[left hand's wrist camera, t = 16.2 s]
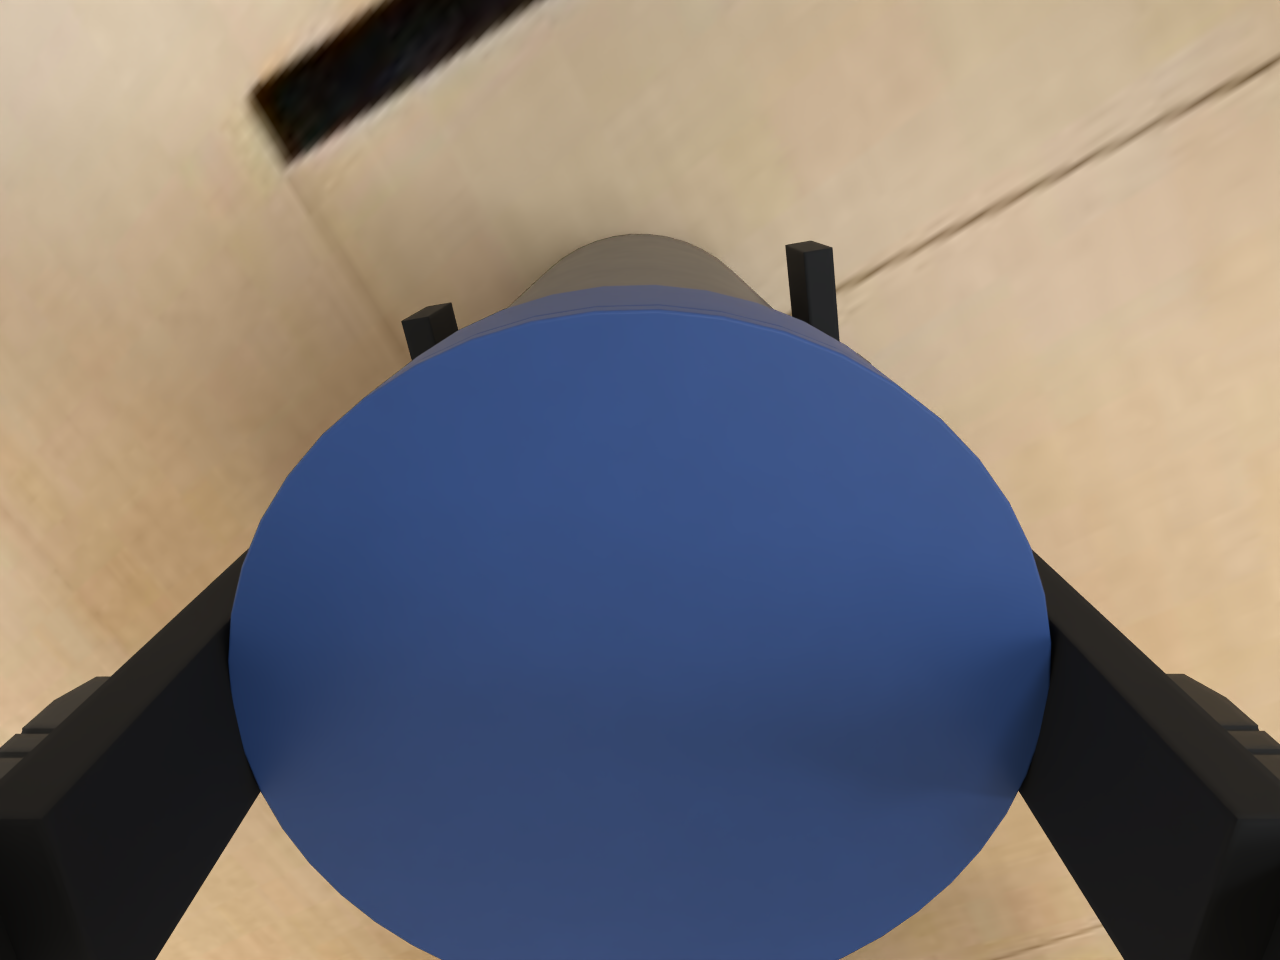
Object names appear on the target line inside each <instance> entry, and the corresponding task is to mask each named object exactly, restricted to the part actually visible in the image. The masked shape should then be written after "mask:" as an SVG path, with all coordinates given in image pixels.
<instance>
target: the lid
mask: <svg viewBox="0 0 1280 960" xmlns="http://www.w3.org/2000/svg"><path fill="white" fill-rule="evenodd" d="M1050 661H1051V638H1050V630H1049V622H1048V615H1047V607H1046V599H1045V593H1044V590H1043V586H1042V583H1041V580H1040V576H1039V573H1038V569H1037V566H1036V563H1035V559H1034V556H1033V553H1032V549H1031V547H1030V545H1029V542H1028V540H1027V538H1026V536H1025V534H1024V532H1023V530H1022V528H1021V526H1020V524H1019V522H1018V520H1017V518H1016V515H1015V513H1014V511H1013V509H1012V507H1011V505H1010V503H1009V501H1008V500H1007V498H1006V497H1005V496H1004V494H1003V493H1002V491H1001V490H1000V488H999V487H998V485H997V484H996V483H995V481H994V480H993V478H992V477H991V475H990V474H989V472H988V471H987V470H986V468H985V467H984V465H983V464H982V462H981V461H980V460H979V458H978V457H977V456H976V455H975V454H974V453H973V452H972V451H971V450H970V449H969V448H968V447H967V446H966V445H965V444H964V443H963V441H962V440H961V439H960V438H959V437H958V436H957V435H956V434H955V433H954V432H953V431H952V430H951V429H950V428H949V427H948V426H947V425H946V424H945V423H944V421H943V420H942V419H941V418H939V417H938V416H937V415H935V414H934V413H933V412H932V411H930V410H929V409H928V408H926V407H925V406H924V405H923V404H921V403H920V402H919V401H917V400H916V399H915V398H914V397H912V396H911V395H910V394H908V393H907V392H906V391H905V390H903V389H902V388H901V387H899V386H898V385H897V384H896V383H894V382H893V381H892V380H890V379H889V378H888V377H886V376H885V375H884V374H883V373H881V372H880V371H879V370H877V369H876V368H875V367H874V366H872V365H871V364H870V363H868V362H867V361H866V360H865V359H863V358H862V357H861V356H859V355H858V354H857V353H855V352H854V351H853V350H852V349H850V348H849V347H848V346H846V345H844V344H843V343H841V342H839V341H837V340H836V339H834V338H832V337H830V336H829V335H827V334H825V333H823V332H822V331H820V330H818V329H816V328H815V327H813V326H811V325H809V324H808V323H806V322H804V321H802V320H799V319H797V318H794V317H792V316H789V315H787V314H784V313H782V312H779V311H776V310H774V309H771V308H769V307H766V306H764V305H761V304H759V303H756V302H752V301H748V300H744V299H740V298H736V297H732V296H728V295H724V294H720V293H715V292H711V291H707V290H698V289H689V288H680V287H670V286H661V285H633V286H602V287H596V288H590V289H584V290H577V291H571V292H565V293H559V294H553V295H549V296H546V297H543V298H539V299H536V300H533V301H530V302H526V303H523V304H520V305H516V306H513V307H510V308H507V309H503V310H501V311H499V312H497V313H495V314H493V315H490V316H488V317H486V318H484V319H482V320H480V321H477V322H475V323H473V324H471V325H469V326H467V327H464V328H462V329H460V330H458V331H456V332H455V333H453V334H452V335H450V336H449V337H447V338H446V339H444V340H442V341H441V342H439V343H438V344H436V345H435V346H433V347H432V348H430V349H429V350H427V351H425V352H424V353H422V354H421V355H419V356H418V357H416V358H415V359H414V360H412V361H411V362H410V363H408V364H407V365H406V366H405V367H403V368H402V369H401V370H399V371H398V372H397V373H396V374H394V375H393V376H392V377H390V378H389V379H388V380H386V381H385V382H384V383H383V384H381V385H380V386H379V387H377V388H376V389H375V390H374V391H372V392H371V393H370V394H368V395H367V396H366V397H364V398H363V399H362V400H361V401H360V402H359V403H358V404H356V405H355V406H354V407H353V408H352V409H351V410H350V411H348V412H347V413H346V414H345V415H344V416H343V417H342V418H340V419H339V420H338V421H337V422H336V423H335V424H334V425H332V426H331V427H330V428H329V429H328V430H327V431H326V432H324V433H323V434H322V435H321V437H320V438H319V439H318V440H317V441H316V443H315V444H314V445H313V446H312V447H311V449H310V450H309V451H308V452H307V453H306V454H305V456H304V457H303V458H302V459H301V460H300V462H299V463H298V464H297V465H296V466H295V467H294V469H293V470H292V471H291V472H290V473H289V475H288V476H287V477H286V479H285V481H284V482H283V484H282V486H281V487H280V489H279V491H278V492H277V494H276V496H275V497H274V499H273V501H272V502H271V504H270V506H269V507H268V509H267V510H266V512H265V514H264V515H263V517H262V519H261V521H260V523H259V525H258V528H257V530H256V533H255V535H254V538H253V540H252V543H251V545H250V548H249V550H248V553H247V555H246V557H245V560H244V562H243V565H242V568H241V573H240V577H239V581H238V586H237V590H236V594H235V599H234V603H233V608H232V612H231V623H230V639H229V655H228V665H229V676H230V687H231V693H232V699H233V704H234V709H235V713H236V718H237V722H238V726H239V731H240V735H241V740H242V744H243V748H244V752H245V755H246V758H247V760H248V762H249V765H250V767H251V770H252V772H253V774H254V777H255V779H256V782H257V784H258V787H259V789H260V791H261V793H262V795H263V796H264V798H265V800H266V801H267V803H268V805H269V806H270V808H271V810H272V812H273V813H274V815H275V817H276V818H277V820H278V822H279V823H280V825H281V827H282V829H283V830H284V831H285V832H286V834H287V835H288V836H289V838H290V839H291V840H292V841H293V843H294V844H295V845H296V847H297V848H298V849H299V850H300V852H301V853H302V854H303V856H304V857H305V858H306V859H307V861H308V862H309V863H310V864H311V865H312V866H313V867H314V868H315V869H316V870H317V871H318V872H319V873H320V874H321V875H322V876H323V877H324V878H325V879H326V880H327V881H328V882H329V883H330V884H331V885H332V886H333V887H334V888H335V889H336V890H337V891H338V892H339V893H340V894H341V895H342V896H343V897H344V898H346V899H347V900H348V901H350V902H351V903H352V904H353V905H355V906H356V907H357V908H358V909H360V910H361V911H362V912H363V913H365V914H366V915H367V916H368V917H370V918H371V919H372V920H374V921H375V922H376V923H378V924H379V925H381V926H383V927H384V928H386V929H387V930H389V931H391V932H392V933H394V934H395V935H397V936H399V937H400V938H402V939H403V940H405V941H407V942H408V943H410V944H411V945H413V946H415V947H417V948H419V949H421V950H423V951H425V952H427V953H429V954H431V955H433V956H435V957H437V958H439V959H441V960H838V959H841V958H843V957H845V956H847V955H849V954H850V953H852V952H854V951H856V950H858V949H860V948H862V947H863V946H865V945H867V944H869V943H871V942H873V941H874V940H876V939H878V938H880V937H882V936H883V935H885V934H886V933H888V932H889V931H891V930H892V929H893V928H895V927H896V926H898V925H899V924H901V923H902V922H904V921H905V920H907V919H908V918H909V917H911V916H912V915H914V914H915V913H917V912H918V911H919V910H920V909H922V908H923V907H924V906H925V905H926V904H927V903H929V902H930V901H931V900H932V899H933V898H934V897H935V896H937V895H938V894H939V893H940V892H941V891H942V890H944V889H945V888H946V887H947V886H948V885H949V884H950V883H952V881H953V880H954V879H955V878H956V877H957V876H958V875H959V874H960V873H961V872H962V870H963V869H964V868H965V867H966V866H967V865H968V864H969V863H970V862H971V861H972V859H973V858H974V857H975V856H976V855H977V854H978V853H979V852H980V851H981V849H982V848H983V846H984V845H985V844H986V842H987V841H988V839H989V838H990V837H991V835H992V834H993V832H994V831H995V829H996V828H997V827H998V825H999V824H1000V822H1001V821H1002V819H1003V818H1004V817H1005V815H1006V814H1007V812H1008V810H1009V808H1010V806H1011V804H1012V802H1013V800H1014V798H1015V796H1016V794H1017V792H1018V790H1019V788H1020V787H1021V785H1022V783H1023V781H1024V779H1025V777H1026V775H1027V772H1028V769H1029V766H1030V764H1031V761H1032V758H1033V755H1034V752H1035V749H1036V745H1037V741H1038V737H1039V733H1040V729H1041V724H1042V719H1043V714H1044V710H1045V705H1046V700H1047V696H1048V691H1049V686H1050Z"/></svg>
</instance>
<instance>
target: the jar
mask: <svg viewBox="0 0 1280 960" xmlns="http://www.w3.org/2000/svg"><path fill="white" fill-rule="evenodd" d="M633 285H661V286H670V287H680V288H689V289H698V290H707V291H711V292H715V293H720V294H724V295H728V296H732V297H736V298H740V299H744V300H748V301H752V302H756V303H759V304H761V305H764V306H766V307H769V308H771V309H773V308H772V307H771V306H770V305H769V304H767V303H766V302H765V301H764V300H763V299H762V298H761V297H760V296H759V295H758V294H757V293H756V292H755V291H753V290H752V289H751V288H750V287H749V286H748V285H747V284H746V283H745V282H744V281H743V280H742V279H740V278H739V277H738V276H737V275H736V274H735V273H734V272H733V271H732V270H731V269H729V268H728V267H727V266H726V265H725V264H723V263H722V262H721V261H720V260H719V259H717V258H716V257H714V256H712V255H711V254H709V253H707V252H706V251H704V250H703V249H700V248H698V247H696V246H694V245H691V244H689V243H687V242H684V241H681V240H677V239H674V238H670V237H665V236H658V235H651V234H629V235H621V236H614V237H610V238H606V239H603V240H599V241H595V242H593V243H591V244H588V245H586V246H584V247H581V248H579V249H577V250H576V251H574V252H572V253H571V254H569V255H567V256H566V257H564V258H562V259H561V260H560V261H559V262H558V263H556V264H555V265H554V266H553V267H551V268H550V269H549V270H548V271H547V272H546V273H545V274H543V275H542V276H541V277H540V278H539V279H538V280H537V281H536V282H535V283H534V284H533V285H532V286H530V287H529V288H528V289H527V290H526V291H525V292H524V293H523V294H522V295H521V296H520V297H519V298H518V299H516V300H515V301H514V302H513V303H512V304H511V305H510V306H509V307H508V308H510V307H513V306H516V305H520V304H523V303H526V302H530V301H533V300H536V299H539V298H543V297H546V296H549V295H553V294H559V293H565V292H571V291H577V290H584V289H590V288H596V287H602V286H633Z"/></svg>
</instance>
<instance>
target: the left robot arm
mask: <svg viewBox="0 0 1280 960" xmlns="http://www.w3.org/2000/svg"><path fill="white" fill-rule="evenodd" d="M248 550H249V549H248ZM248 550H247V551H245V552H244V553H243V554H242V555H241V556H240V557H239V558H238V559H237V560H236V561H235V562H234V563H233V564H231V565H230V566H229V567H228V568H227V569H226V570H225V571H224V572H223V573H222V574H221V575H220V576H219V577H217V578H216V579H215V580H214V581H213V582H212V583H211V584H210V585H209V586H208V587H207V588H206V589H205V590H203V591H202V592H201V593H200V594H199V595H198V596H197V597H196V598H195V599H194V600H193V601H192V602H191V603H189V604H188V605H187V606H186V607H185V608H184V609H183V610H182V611H181V612H180V613H179V614H178V615H177V616H176V617H174V618H173V619H172V620H171V621H170V622H169V623H168V624H167V625H166V626H165V627H164V628H163V629H162V630H160V631H159V632H158V633H157V634H156V635H155V636H154V637H153V638H152V639H151V640H150V641H149V642H148V643H146V644H145V645H144V646H143V647H142V648H141V649H140V650H139V651H138V652H137V653H136V654H135V655H134V656H132V657H131V658H130V659H129V660H128V661H127V662H126V663H125V664H124V665H123V666H122V667H121V668H120V669H118V670H117V671H116V672H115V673H114V674H113V675H112V676H111V677H95V678H93V679H91V680H90V681H88V682H86V683H84V684H82V685H81V686H79V687H77V688H75V689H74V690H72V691H70V692H68V693H66V694H65V695H63V696H61V697H59V698H57V699H56V700H54V701H53V702H52V703H51V704H49V705H48V706H47V707H46V708H45V709H44V710H43V711H41V712H40V713H39V714H38V715H37V716H36V717H35V718H33V719H32V720H31V721H30V722H29V723H28V724H27V725H26V726H24V727H23V728H22V733H21V734H15V735H14V736H13V737H12V738H11V739H10V740H8V741H7V742H6V743H5V744H4V745H3V746H2V747H1V748H0V960H155V959H156V958H157V956H158V955H159V953H160V951H161V950H162V948H163V947H164V945H165V943H166V942H167V940H168V939H169V937H170V935H171V934H172V932H173V931H174V929H175V927H176V926H177V924H178V923H179V921H180V919H181V918H182V916H183V915H184V913H185V911H186V910H187V908H188V907H189V905H190V903H191V902H192V900H193V899H194V897H195V895H196V894H197V892H198V891H199V889H200V887H201V886H202V884H203V883H204V881H205V879H206V878H207V876H208V875H209V873H210V871H211V870H212V868H213V867H214V865H215V863H216V862H217V860H218V859H219V857H220V855H221V854H222V852H223V851H224V849H225V847H226V846H227V844H228V843H229V841H230V839H231V838H232V836H233V835H234V833H235V831H236V830H237V828H238V827H239V825H240V823H241V822H242V820H243V819H244V817H245V815H246V814H247V812H248V811H249V809H250V807H251V806H252V804H253V803H254V801H255V799H256V798H257V796H258V795H259V793H260V789H259V787H258V784H257V782H256V779H255V777H254V774H253V772H252V770H251V767H250V765H249V762H248V760H247V758H246V755H245V752H244V748H243V744H242V740H241V735H240V731H239V726H238V722H237V718H236V713H235V709H234V704H233V699H232V693H231V687H230V676H229V665H228V655H229V639H230V623H231V612H232V608H233V603H234V599H235V594H236V590H237V586H238V581H239V577H240V573H241V568H242V565H243V562H244V560H245V557H246V555H247V553H248ZM1032 553H1033V556H1034V559H1035V563H1036V566H1037V569H1038V573H1039V576H1040V580H1041V583H1042V586H1043V590H1044V593H1045V599H1046V607H1047V615H1048V622H1049V630H1050V638H1051V661H1050V686H1049V691H1048V696H1047V700H1046V705H1045V710H1044V714H1043V719H1042V724H1041V729H1040V733H1039V737H1038V741H1037V745H1036V749H1035V752H1034V755H1033V758H1032V761H1031V764H1030V766H1029V769H1028V772H1027V775H1026V777H1025V779H1024V781H1023V783H1022V785H1021V787H1020V788H1019V790H1018V791H1019V792H1020V794H1021V795H1022V797H1023V799H1024V800H1025V802H1026V803H1027V805H1028V807H1029V808H1030V810H1031V811H1032V813H1033V815H1034V816H1035V818H1036V819H1037V821H1038V823H1039V824H1040V826H1041V827H1042V829H1043V831H1044V832H1045V834H1046V835H1047V837H1048V839H1049V840H1050V842H1051V843H1052V845H1053V847H1054V848H1055V850H1056V851H1057V853H1058V855H1059V856H1060V858H1061V859H1062V861H1063V863H1064V864H1065V866H1066V867H1067V869H1068V871H1069V872H1070V874H1071V875H1072V877H1073V879H1074V880H1075V882H1076V883H1077V885H1078V887H1079V888H1080V890H1081V891H1082V893H1083V895H1084V896H1085V898H1086V899H1087V901H1088V903H1089V904H1090V906H1091V907H1092V909H1093V911H1094V912H1095V914H1096V915H1097V917H1098V919H1099V920H1100V922H1101V923H1102V925H1103V927H1104V928H1105V930H1106V931H1107V933H1108V935H1109V936H1110V938H1111V939H1112V941H1113V943H1114V944H1115V946H1116V947H1117V949H1118V951H1119V952H1120V954H1121V955H1122V957H1123V959H1124V960H1280V744H1279V743H1278V742H1276V741H1275V740H1274V739H1273V738H1272V737H1271V736H1270V735H1268V734H1267V733H1266V732H1265V731H1259V730H1258V725H1257V724H1256V723H1255V722H1254V721H1252V720H1251V719H1250V718H1249V717H1248V716H1247V715H1246V714H1244V713H1243V712H1242V711H1241V710H1240V709H1239V708H1238V707H1236V706H1235V705H1234V704H1233V703H1232V702H1231V701H1229V700H1228V699H1227V698H1226V697H1224V696H1222V695H1221V694H1219V693H1217V692H1215V691H1213V690H1212V689H1210V688H1208V687H1206V686H1204V685H1203V684H1201V683H1199V682H1197V681H1195V680H1194V679H1192V678H1190V677H1188V676H1186V675H1185V674H1165V673H1164V672H1163V671H1162V670H1161V669H1160V668H1159V667H1158V666H1157V665H1156V664H1155V663H1153V662H1152V661H1151V660H1150V659H1149V658H1148V657H1147V656H1146V655H1145V654H1144V653H1143V652H1142V651H1141V650H1139V649H1138V648H1137V647H1136V646H1135V645H1134V644H1133V643H1132V642H1131V641H1130V640H1129V639H1128V638H1127V637H1125V636H1124V635H1123V634H1122V633H1121V632H1120V631H1119V630H1118V629H1117V628H1116V627H1115V626H1114V625H1113V624H1112V623H1110V622H1109V621H1108V620H1107V619H1106V618H1105V617H1104V616H1103V615H1102V614H1101V613H1100V612H1099V611H1098V610H1096V609H1095V608H1094V607H1093V606H1092V605H1091V604H1090V603H1089V602H1088V601H1087V600H1086V599H1085V598H1084V597H1082V596H1081V595H1080V594H1079V593H1078V592H1077V591H1076V590H1075V589H1074V588H1073V587H1072V586H1071V585H1070V584H1068V583H1067V582H1066V581H1065V580H1064V579H1063V578H1062V577H1061V576H1060V575H1059V574H1058V573H1057V572H1056V571H1054V570H1053V569H1052V568H1051V567H1050V566H1049V565H1048V564H1047V563H1046V562H1045V561H1044V560H1043V559H1042V558H1040V557H1039V556H1038V555H1037V554H1036V553H1035V552H1034V551H1033V550H1032Z"/></svg>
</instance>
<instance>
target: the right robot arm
mask: <svg viewBox="0 0 1280 960" xmlns="http://www.w3.org/2000/svg"><path fill="white" fill-rule="evenodd" d="M785 246H786V257H787V267H788V278H789V288H790V298H791V309H792V317H794V318H797V319H799V320H802V321H804V322H806V323H808V324H809V325H811V326H813V327H815V328H816V329H818V330H820V331H822V332H823V333H825V334H827V335H829V336H830V337H832V338H834V339H836V340H837V341H839V329H838V316H837V303H836V289H835V276H834V263H833V250H832V247H829V246H826V245H823V244H820V243H816V242H813V241H807V242H801V243H795V244H789V245H785ZM401 322H402V326H403V329H404V333H405V337H406V340H407V344H408V348H409V351H410V355H411V359H412V360H414V359H415V358H416V357H418V356H419V355H421V354H422V353H424V352H425V351H427V350H429V349H430V348H432V347H433V346H435V345H436V344H438V343H439V342H441V341H442V340H444V339H446V338H447V337H449V336H450V335H452V334H453V333H455V332H456V331H458V328H457V324H456V320H455V315H454V311H453V307H452V303H445V304H440V305H434V306H428V307H426V308H424V309H422V310H420V311H418V312H417V313H415V314H413V315H411V316H410V317H408V318H406V319H404V320H403V321H401ZM857 354H858V353H857ZM858 355H859V354H858ZM859 356H860V355H859ZM861 357H862V356H861ZM862 358H863V357H862ZM863 359H864V358H863ZM865 360H866V359H865ZM866 361H867V360H866ZM867 362H868V361H867ZM868 363H870V362H868ZM870 364H871V363H870Z"/></svg>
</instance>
